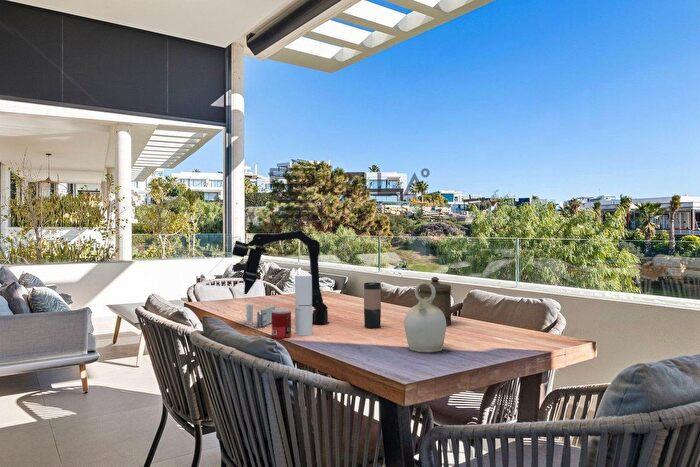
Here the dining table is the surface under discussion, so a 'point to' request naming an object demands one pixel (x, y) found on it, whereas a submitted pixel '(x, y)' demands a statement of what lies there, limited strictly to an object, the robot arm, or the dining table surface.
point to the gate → (267, 314)
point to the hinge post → (259, 320)
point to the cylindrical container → (303, 305)
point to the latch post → (249, 313)
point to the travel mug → (372, 305)
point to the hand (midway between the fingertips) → (245, 293)
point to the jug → (425, 324)
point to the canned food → (281, 323)
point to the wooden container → (439, 297)
